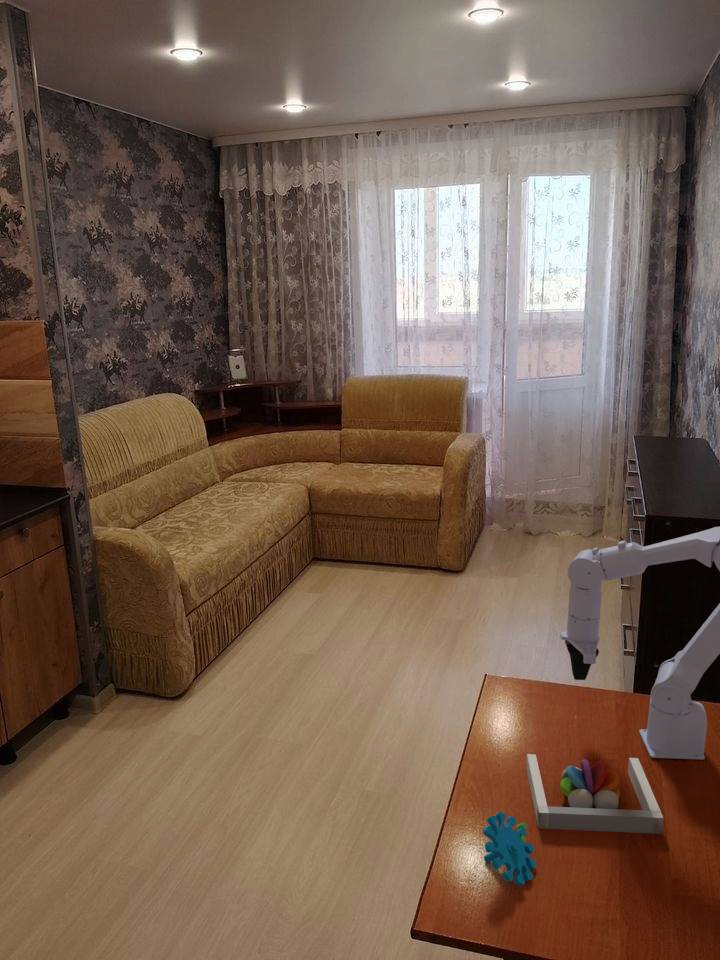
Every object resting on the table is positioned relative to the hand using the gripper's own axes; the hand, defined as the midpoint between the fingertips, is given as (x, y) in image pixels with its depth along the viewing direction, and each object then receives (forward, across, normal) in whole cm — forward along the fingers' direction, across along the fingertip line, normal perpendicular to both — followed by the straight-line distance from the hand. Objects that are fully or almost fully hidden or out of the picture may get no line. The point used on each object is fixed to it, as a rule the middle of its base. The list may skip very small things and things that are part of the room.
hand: (579, 678), depth 143 cm
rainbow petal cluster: (+10, +22, -2) cm, 24 cm away
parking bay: (+9, +22, -2) cm, 24 cm away
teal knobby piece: (+10, +37, -17) cm, 42 cm away
